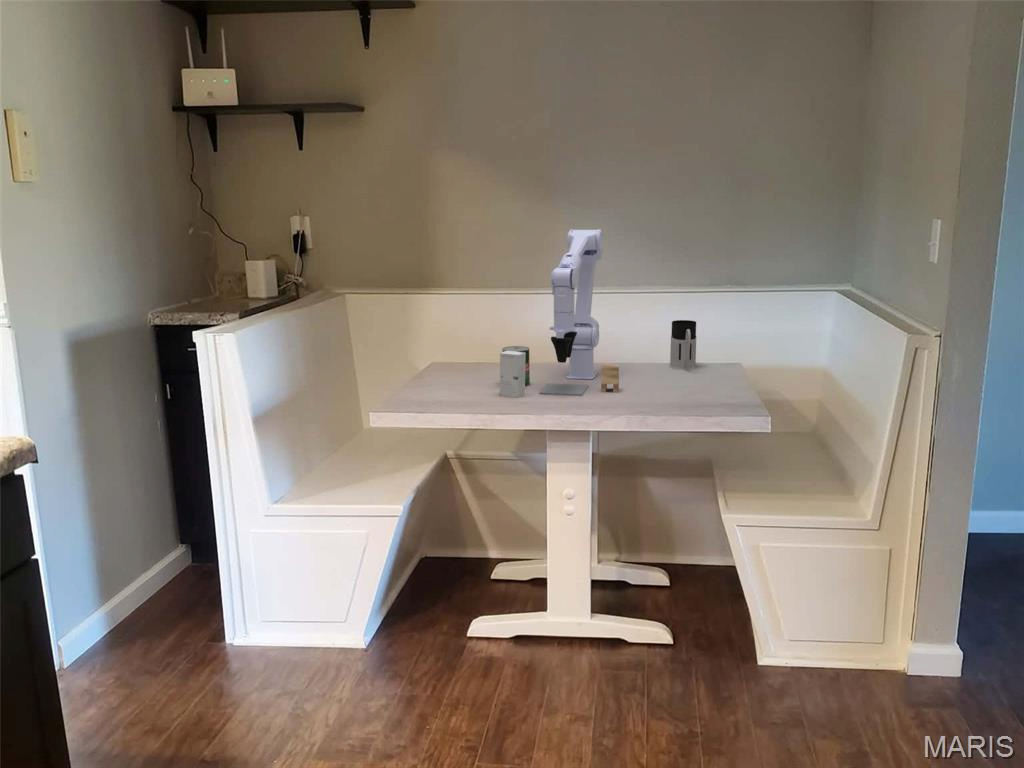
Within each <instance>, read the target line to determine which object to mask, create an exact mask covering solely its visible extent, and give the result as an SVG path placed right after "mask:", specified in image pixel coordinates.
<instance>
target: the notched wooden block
mask: <svg viewBox="0 0 1024 768" xmlns="http://www.w3.org/2000/svg"><path fill="white" fill-rule="evenodd" d="M601 366H602V367H600V368H601V370H600V371H601V376H600V377H601V379H600V381H601V382H600V383H601V385H600V386H601V387H600V389H601V390H600V391H601V393H606V392H607V389H608V385H613V386H612V387H613V388H612V393H618V391H619V388H620V387H619V386H620V381H619V379H620V366H619V364H614V365H613V364H602V365H601Z"/></svg>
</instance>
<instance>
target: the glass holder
mask: <svg viewBox="0 0 1024 768" xmlns="http://www.w3.org/2000/svg"><path fill="white" fill-rule="evenodd" d="M669 361H670V362H669V363H670V364H669V369H671V370H676V371H690V370H691V371H692V370H695V369H697V366H696V362H697V321H695V320H689V319H688V320H684V319H680V320H679V319H678V320H672V321H671V335H670V360H669Z"/></svg>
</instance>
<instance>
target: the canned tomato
mask: <svg viewBox="0 0 1024 768" xmlns="http://www.w3.org/2000/svg"><path fill="white" fill-rule="evenodd" d="M505 351H517V352H525V353H526V361H525V388H526V387H529V386H530V385H531V383H530V377H531V375H530V374H531V373H530V372H531V371H530V347H528V346H524V345H512V346H505V347H502V351H501V353H502V352H505Z"/></svg>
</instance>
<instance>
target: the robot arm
mask: <svg viewBox="0 0 1024 768" xmlns="http://www.w3.org/2000/svg"><path fill="white" fill-rule="evenodd" d="M566 239H567V240H566V241H567V248H568V252H567V253H564V255H563V256H562V258H561V259H560V261H559V263H558V266H557V267H555V268H554V269H552V271H551V273H550V286H551V293H552V295H553V326H550V327H549V330H550V331H554V333H555V336H551V337H550V341H551V342H552V344H553V347H554V351H555V355H556V356H555V357H556V359H557V363H562V364H563V363H564V364H565V363H566V362H567V359H568V358H569V363H568V364H569V367H568V369H569V372H568V375H567V376H566V377H565V378H566V379H569V380H593V379H594V378H595V376H596V375H597V374H598V372H597V371H594V369H595V368H594V367H595V366H594V364H595V363H594V361H595V360H594V348H596V347H597V346H598V345H599V342H600V324H599V322H598V321H597V319H595V317H593V316H592V305H593V304H592V302H593V294H594V293H593V292H594V281H595V278H594V277H595V268H596V265H597V262H598V261H599V260H601V259H602V257H603V250H604V233H603V231H602V230H601V229H600V228H598V229H573V228H571V229H570V230H569V231H568V233H567V238H566ZM576 288H577V289H576ZM575 289H576V296H575ZM575 297H576V298H575ZM575 299H576V300H575Z"/></svg>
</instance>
